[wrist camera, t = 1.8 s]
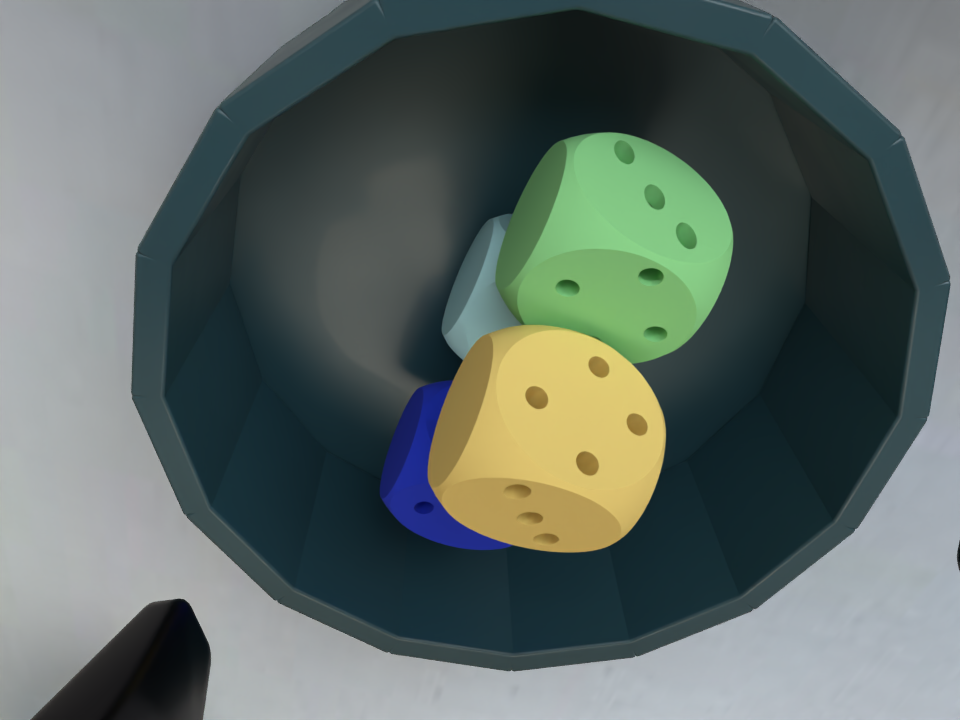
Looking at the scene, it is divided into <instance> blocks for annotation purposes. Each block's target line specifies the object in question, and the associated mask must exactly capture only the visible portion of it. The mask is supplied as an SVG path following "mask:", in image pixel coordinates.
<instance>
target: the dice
mask: <svg viewBox="0 0 960 720" xmlns="http://www.w3.org/2000/svg"><path fill="white" fill-rule="evenodd" d="M732 251H733V231H732V227H731V223H730V220H729V217H728V214H727V212H726V210H725V208H724V206H723V204H722V202H721V200H720V199H719V197H718V196H717V194H716V193H715V192H714V190H713V189H712V188H711V187H710V186H709V184H708V183H707V182H706V181H705V180H704V179H703V178H702V177H701V176H700V175H699V174H698V173H697V172H696V171H695V170H693V169H692V168H691V167H690V166H689V165H687V164H686V163H685V162H684V161H682V160H681V159H679V158H678V157H676V156H675V155H673V154H672V153H670V152H668V151H667V150H665V149H663V148H661V147H659V146H657V145H655V144H653V143H651V142H649V141H646V140H644V139H641V138H638V137H635V136H631V135H627V134H622V133H612V132H606V133H591V134H583V135H579V136H574V137H570V138H567V139H564V140H561V141H559V142H557V143H555V144H554V145H553V146H552V147H551V148H550V149H549V150H548V151H547V153H546V154H545V155H544V157H543V158H542V159H541V161H540V162H539V164H538V165H537V167H536V169H535V170H534V172H533V174H532V175H531V177H530V179H529V181H528V183H527V185H526V187H525V188H524V190H523V193H522V195H521V197H520V199H519V201H518V203H517V205H516V208H515V210H514V212H513V214H504V215H501V216H498V217H495V218H492V219H489V220H488V221H487V222H486V223H485V224H484V225H483V226H482V228H481V229H480V231H479V232H478V234H477V236H476V237H475V239H474V241H473V243H472V245H471V246H470V248H469V250H468V252H467V254H466V257H465V259H464V261H463V263H462V265H461V268H460V270H459V272H458V275H457V277H456V280H455V282H454V285H453V287H452V290H451V293H450V296H449V299H448V302H447V305H446V309H445V313H444V317H443V322H442V334H443V336H444V338H445V340H446V342H447V343H448V345H449V346H450V348H451V349H452V350H453V351H454V352H455V353H456V354H457V355H458V356H459V357H460V358H461V359H462V360H463V362H462V364H461V365H460V367H459V369H458V371H457V373H456V375H455V377H454V380H448V381H441V382H436V383H432V384H428V385H425V386H422V387H420V388H418V389H417V390H416V391H415V392H414V394H413V395H412V396H411V398H410V400H409V402H408V403H407V405H406V407H405V409H404V411H403V413H402V416H401V418H400V420H399V423H398V425H397V427H396V430H395V433H394V435H393V438H392V441H391V444H390V447H389V450H388V453H387V456H386V460H385V464H384V467H383V472H382V476H381V482H380V497H381V499H382V500H383V502H384V504H385V505H386V507H387V508H388V509H389V511H390V512H391V513H392V514H393V515H394V517H395V518H396V519H397V520H398V521H399V522H400V523H401V524H402V525H404V526H405V527H406V528H408V529H409V530H411V531H412V532H414V533H416V534H418V535H420V536H422V537H424V538H427V539H429V540H432V541H434V542H437V543H441V544H444V545H448V546H452V547H457V548H463V549H472V550H495V549H502V548H506V547H510V546H513V545H515V546H519V547H524V548H529V549H535V550H541V551H550V552H587V551H594V550H598V549H602V548H605V547H607V546H610V545H612V544H613V543H615V542H617V541H618V540H620V539H621V538H623V537H624V536H625V535H626V534H627V533H628V532H629V531H630V530H631V529H632V528H633V526H634V525H635V524H636V523H637V521H638V520H639V518H640V517H641V515H642V514H643V512H644V510H645V508H646V506H647V505H648V503H649V501H650V498H651V496H652V494H653V492H654V489H655V487H656V484H657V481H658V478H659V474H660V471H661V467H662V463H663V458H664V452H665V443H666V427H665V420H664V415H663V412H662V410H661V407H660V405H659V403H658V400H657V398H656V396H655V394H654V392H653V391H652V389H651V387H650V386H649V384H648V383H647V381H646V380H645V379H644V377H643V376H642V375H641V373H640V372H639V371H638V370H637V369H636V368H635V367H634V366H633V365H632V364H634V363H640V362H645V361H649V360H653V359H656V358H658V357H661V356H663V355H666V354H668V353H671V352H673V351H675V350H677V349H678V348H680V347H681V346H682V345H683V344H685V343H686V342H687V341H688V340H689V339H690V338H691V337H692V336H693V335H694V334H695V332H696V331H697V330H698V329H699V328H700V326H701V325H702V323H703V322H704V321H705V319H706V318H707V316H708V315H709V313H710V311H711V309H712V308H713V306H714V304H715V302H716V300H717V298H718V296H719V294H720V292H721V290H722V287H723V285H724V282H725V279H726V276H727V273H728V270H729V266H730V262H731V257H732Z"/></svg>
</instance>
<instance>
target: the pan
mask: <svg viewBox="0 0 960 720" xmlns="http://www.w3.org/2000/svg"><path fill="white" fill-rule="evenodd" d="M606 132H612V133H622V134H627V135H631V136H635V137H638V138H641V139H644V140H646V141H649V142H651V143H653V144H655V145H657V146H659V147H661V148H663V149H665V150H667V151H668V152H670V153H672V154H673V155H675V156H676V157H678V158H679V159H681V160H682V161H684V162H685V163H686V164H687V165H689V166H690V167H691V168H692V169H693V170H695V171H696V172H697V173H698V174H699V175H700V176H701V177H702V178H703V179H704V180H705V181H706V182H707V183H708V184H709V186H710V187H711V188H712V189H713V190H714V192H715V193H716V194H717V196H718V197H719V199H720V200H721V202H722V204H723V206H724V208H725V210H726V212H727V214H728V217H729V220H730V223H731V227H732V231H733V251H732V257H731V262H730V266H729V270H728V273H727V276H726V279H725V282H724V285H723V287H722V290H721V292H720V294H719V296H718V298H717V300H716V302H715V304H714V306H713V308H712V309H711V311H710V313H709V315H708V316H707V318H706V319H705V321H704V322H703V323H702V325H701V326H700V328H699V329H698V330H697V331H696V332H695V334H694V335H693V336H692V337H691V338H690V339H689V340H688V341H687V342H686V343H685V344H683V345H682V346H681V347H680V348H678V349H677V350H675V351H673V352H671V353H668V354H666V355H663V356H661V357H658V358H656V359H653V360H649V361H645V362H640V363H634V364H632V365H633V366H634V367H635V368H636V369H637V370H638V371H639V372H640V373H641V375H642V376H643V377H644V379H645V380H646V381H647V383H648V384H649V386H650V387H651V389H652V391H653V392H654V394H655V396H656V398H657V400H658V403H659V405H660V407H661V410H662V412H663V415H664V420H665V427H666V443H665V452H664V458H663V463H662V467H661V471H660V474H659V478H658V481H657V484H656V487H655V489H654V492H653V494H652V496H651V498H650V501H649V503H648V505H647V506H646V508H645V510H644V512H643V514H642V515H641V517H640V518H639V520H638V521H637V523H636V524H635V525H634V526H633V528H632V529H631V530H630V531H629V532H628V533H627V534H626V535H625V536H624V537H623V538H621V539H620V540H618V541H617V542H615V543H613V544H612V545H610V546H607V547H605V548H602V549H598V550H594V551H587V552H550V551H541V550H535V549H529V548H524V547H519V546H515V545H513V546H510V547H506V548H502V549H495V550H472V549H463V548H457V547H452V546H448V545H444V544H441V543H437V542H434V541H432V540H429V539H427V538H424V537H422V536H420V535H418V534H416V533H414V532H412V531H411V530H409V529H408V528H406V527H405V526H404V525H402V524H401V523H400V522H399V521H398V520H397V519H396V518H395V517H394V515H393V514H392V513H391V512H390V511H389V509H388V508H387V507H386V505H385V504H384V502H383V500H382V499H381V497H380V482H381V476H382V472H383V467H384V464H385V460H386V456H387V453H388V450H389V447H390V444H391V441H392V438H393V435H394V433H395V430H396V427H397V425H398V423H399V420H400V418H401V416H402V413H403V411H404V409H405V407H406V405H407V403H408V402H409V400H410V398H411V396H412V395H413V394H414V392H415V391H416V390H417V389H418V388H420V387H422V386H425V385H428V384H432V383H436V382H441V381H448V380H454V377H455V375H456V373H457V371H458V369H459V367H460V365H461V364H462V362H463V360H462V359H461V358H460V357H459V356H458V355H457V354H456V353H455V352H454V351H453V350H452V349H451V348H450V346H449V345H448V343H447V342H446V340H445V338H444V336H443V334H442V322H443V317H444V313H445V309H446V305H447V302H448V299H449V296H450V293H451V290H452V287H453V285H454V282H455V280H456V277H457V275H458V272H459V270H460V268H461V265H462V263H463V261H464V259H465V257H466V254H467V252H468V250H469V248H470V246H471V245H472V243H473V241H474V239H475V237H476V236H477V234H478V232H479V231H480V229H481V228H482V226H483V225H484V224H485V223H486V222H487V221H488V220H489V219H492V218H495V217H498V216H501V215H504V214H513V212H514V210H515V208H516V205H517V203H518V201H519V199H520V197H521V195H522V193H523V190H524V188H525V187H526V185H527V183H528V181H529V179H530V177H531V175H532V174H533V172H534V170H535V169H536V167H537V165H538V164H539V162H540V161H541V159H542V158H543V157H544V155H545V154H546V153H547V151H548V150H549V149H550V148H551V147H552V146H553V145H554V144H555V143H557V142H559V141H561V140H564V139H567V138H570V137H574V136H579V135H583V134H591V133H606ZM949 280H950V275H949V272H948V269H947V266H946V263H945V260H944V257H943V254H942V251H941V248H940V245H939V241H938V238H937V235H936V232H935V229H934V226H933V223H932V220H931V217H930V214H929V211H928V208H927V205H926V202H925V199H924V196H923V193H922V190H921V187H920V184H919V181H918V178H917V175H916V172H915V169H914V166H913V163H912V160H911V157H910V154H909V150H908V147H907V144H906V141H905V138H904V137H903V136H901V133H900V131H899V130H898V129H897V128H896V127H895V126H894V125H893V124H892V123H891V122H890V121H889V120H888V119H886V118H885V117H884V116H883V115H882V114H881V113H880V112H879V111H878V110H877V109H876V108H875V107H873V106H872V105H871V104H870V103H869V102H868V101H867V100H866V99H865V98H864V97H863V96H862V95H860V94H859V93H858V92H857V91H856V90H855V89H854V88H853V87H852V86H851V85H850V84H849V83H847V82H846V81H845V80H844V79H843V78H842V77H841V76H840V75H839V74H838V73H837V72H836V71H835V70H833V69H832V68H831V67H830V66H829V65H828V64H827V63H826V62H825V61H824V60H823V59H822V58H820V57H819V56H818V55H817V54H816V53H815V52H814V51H813V50H812V49H811V48H810V47H809V46H807V45H806V44H805V43H804V42H803V41H802V40H801V39H800V38H799V37H798V36H797V35H796V34H795V33H793V32H792V31H791V30H790V29H789V28H788V27H787V26H786V25H785V24H784V23H783V22H782V21H780V20H779V19H778V18H776V17H774V16H772V15H770V14H769V13H767V12H765V11H763V10H760V9H758V8H756V7H753V6H751V5H749V4H747V3H744V2H742V1H740V0H347V1H345V2H343V3H342V4H340V5H339V6H338V7H337V8H336V9H334V10H333V11H332V12H331V13H329V14H328V15H326V16H325V17H324V18H322V19H321V20H319V21H318V22H316V23H315V24H313V25H312V26H311V27H309V28H308V29H306V30H305V31H303V32H302V33H300V34H299V35H298V36H296V37H295V38H293V39H292V40H290V41H289V42H287V43H286V44H285V45H283V46H282V47H281V48H280V49H278V50H277V51H276V52H275V53H274V54H273V55H272V56H271V57H270V58H269V59H268V60H267V61H266V62H264V63H263V64H262V65H261V66H260V67H259V68H258V69H257V70H256V71H255V72H254V73H253V74H252V75H250V76H249V77H248V78H247V79H246V80H245V81H244V82H243V83H242V84H241V85H240V86H239V87H238V88H237V89H235V90H234V91H233V92H232V93H231V94H230V95H229V96H228V97H227V98H226V99H225V100H224V101H223V102H221V104H220V105H219V106H218V107H217V108H216V109H215V110H214V112H213V114H212V116H211V118H210V119H209V121H208V123H207V125H206V126H205V128H204V130H203V132H202V134H201V135H200V137H199V139H198V141H197V143H196V144H195V146H194V148H193V150H192V151H191V153H190V155H189V157H188V159H187V160H186V162H185V164H184V166H183V168H182V169H181V171H180V173H179V175H178V176H177V178H176V180H175V182H174V184H173V185H172V187H171V189H170V191H169V193H168V194H167V196H166V198H165V200H164V201H163V203H162V205H161V207H160V209H159V210H158V212H157V214H156V216H155V217H154V219H153V221H152V223H151V225H150V226H149V228H148V230H147V232H146V234H145V235H144V237H143V239H142V241H141V242H140V244H139V246H138V252H137V253H136V261H135V291H134V322H133V353H132V383H131V393H132V399H133V401H134V404H135V406H136V408H137V410H138V413H139V415H140V417H141V419H142V422H143V424H144V426H145V428H146V430H147V433H148V435H149V437H150V439H151V442H152V444H153V446H154V448H155V451H156V453H157V455H158V457H159V459H160V462H161V464H162V466H163V468H164V471H165V473H166V475H167V477H168V479H169V482H170V484H171V486H172V488H173V491H174V493H175V495H176V497H177V500H178V502H179V504H180V506H181V508H182V511H183V513H184V514H185V515H186V516H187V518H188V519H189V520H190V521H191V522H192V523H193V524H194V525H195V526H197V527H198V528H199V529H200V530H201V531H202V532H203V533H204V534H205V535H206V536H207V537H208V538H209V539H210V540H211V541H212V542H213V543H215V544H216V545H217V546H218V547H219V548H220V549H221V550H222V551H223V552H224V553H225V554H226V555H227V556H228V557H229V558H230V559H231V560H232V561H234V562H235V563H236V564H237V565H238V566H239V567H240V568H241V569H242V570H243V571H244V572H245V573H246V574H247V575H248V576H249V577H250V578H251V579H253V580H254V581H255V582H256V583H257V584H258V585H259V586H260V587H261V588H262V589H263V590H264V591H265V592H266V593H267V594H268V595H269V596H271V597H272V598H273V599H274V600H277V602H278V603H280V604H282V605H284V606H286V607H288V608H291V609H293V610H295V611H297V612H299V613H302V614H304V615H306V616H308V617H310V618H312V619H315V620H317V621H319V622H321V623H323V624H326V625H328V626H330V627H332V628H334V629H336V630H339V631H341V632H343V633H345V634H347V635H349V636H352V637H354V638H356V639H358V640H360V641H363V642H365V643H367V644H369V645H371V646H373V647H376V648H378V649H380V650H382V651H384V652H390V653H391V654H396V655H402V656H409V657H416V658H423V659H429V660H436V661H443V662H450V663H456V664H463V665H470V666H477V667H483V668H490V669H497V670H504V671H511V670H512V671H522V670H530V669H539V668H547V667H556V666H565V665H573V664H582V663H590V662H599V661H608V660H616V659H625V658H633V657H635V655H636V656H640V655H643V654H645V653H648V652H650V651H653V650H655V649H658V648H660V647H663V646H665V645H668V644H670V643H673V642H675V641H678V640H681V639H683V638H686V637H688V636H691V635H693V634H696V633H698V632H701V631H703V630H706V629H708V628H711V627H713V626H716V625H718V624H721V623H723V622H726V621H728V620H731V619H733V618H736V617H738V616H741V615H743V614H746V613H748V612H751V611H752V610H753V609H756V608H758V607H759V606H760V605H762V604H763V603H764V602H765V601H767V600H768V599H769V598H770V597H772V596H773V595H774V594H776V593H777V592H778V591H779V590H781V589H782V588H783V587H785V586H786V585H787V584H788V583H790V582H791V581H792V580H793V579H795V578H796V577H797V576H799V575H800V574H801V573H802V572H804V571H805V570H806V569H807V568H809V567H810V566H811V565H813V564H814V563H815V562H816V561H818V560H819V559H820V558H822V557H823V556H824V555H825V554H827V553H828V552H829V551H830V550H832V549H833V548H834V547H836V546H837V545H838V544H839V543H841V542H842V541H843V540H844V539H846V538H847V537H848V536H850V535H851V534H852V533H853V532H854V531H855V529H857V528H858V527H859V525H860V524H861V522H862V521H863V519H864V518H865V516H866V514H867V513H868V511H869V510H870V508H871V507H872V505H873V504H874V502H875V500H876V499H877V497H878V496H879V494H880V493H881V491H882V490H883V488H884V486H885V485H886V483H887V482H888V480H889V479H890V477H891V476H892V474H893V472H894V471H895V469H896V468H897V466H898V465H899V463H900V462H901V460H902V458H903V457H904V455H905V454H906V452H907V451H908V449H909V448H910V446H911V444H912V443H913V441H914V440H915V438H916V437H917V435H918V434H919V432H920V430H921V429H922V427H923V426H924V424H925V423H926V421H927V417H928V416H929V412H930V406H931V400H932V394H933V388H934V382H935V376H936V370H937V363H938V357H939V351H940V345H941V339H942V333H943V327H944V321H945V315H946V309H947V303H948V297H949V290H950V281H949Z"/></svg>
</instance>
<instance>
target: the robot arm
mask: <svg viewBox="0 0 960 720" xmlns="http://www.w3.org/2000/svg"><path fill="white" fill-rule="evenodd" d="M957 562H958V567H959V570H960V542H959V547H958V552H957ZM210 666H211V652H210V647H209V643H208V641H207V639H206V637H205V635H204V632H203V630H202V628H201V626H200V624H199V622H198V620H197V618H196V616H195V614H194V612H193V610H192V608H191V606H190V604H189V603H188V602H187V601H186V600H184V599H173V600H165V601H157V602H153V603H150V604H149V605H147V606H146V607H145V608H143V609H142V610H141V611H140V612H139V613H138V614H137V615H136V616H135V617H134V618H133V619H132V620H131V621H130V622H129V623H128V624H127V625H126V626H125V627H124V628H123V629H122V630H121V631H120V632H119V633H118V634H117V635H116V636H115V637H114V638H113V639H112V640H111V641H110V642H109V643H108V644H107V645H106V646H105V647H104V648H103V649H102V650H101V651H100V652H99V653H98V654H97V655H96V656H95V657H94V658H93V659H92V660H91V661H90V662H89V663H88V664H87V665H86V666H85V667H84V668H83V669H82V670H81V671H80V672H78V673H77V674H76V675H75V676H74V677H73V678H72V679H71V680H70V681H69V682H68V683H67V684H66V685H65V686H64V687H63V688H62V689H61V690H60V691H59V692H58V693H57V694H56V695H55V696H54V697H53V698H52V699H51V700H50V701H49V702H48V703H47V704H46V705H45V706H44V707H43V708H42V709H41V710H40V711H39V712H38V713H37V714H36V715H35V716H34V717H33V718H32V719H31V720H203V715H204V708H205V701H206V694H207V687H208V680H209V673H210Z"/></svg>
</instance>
